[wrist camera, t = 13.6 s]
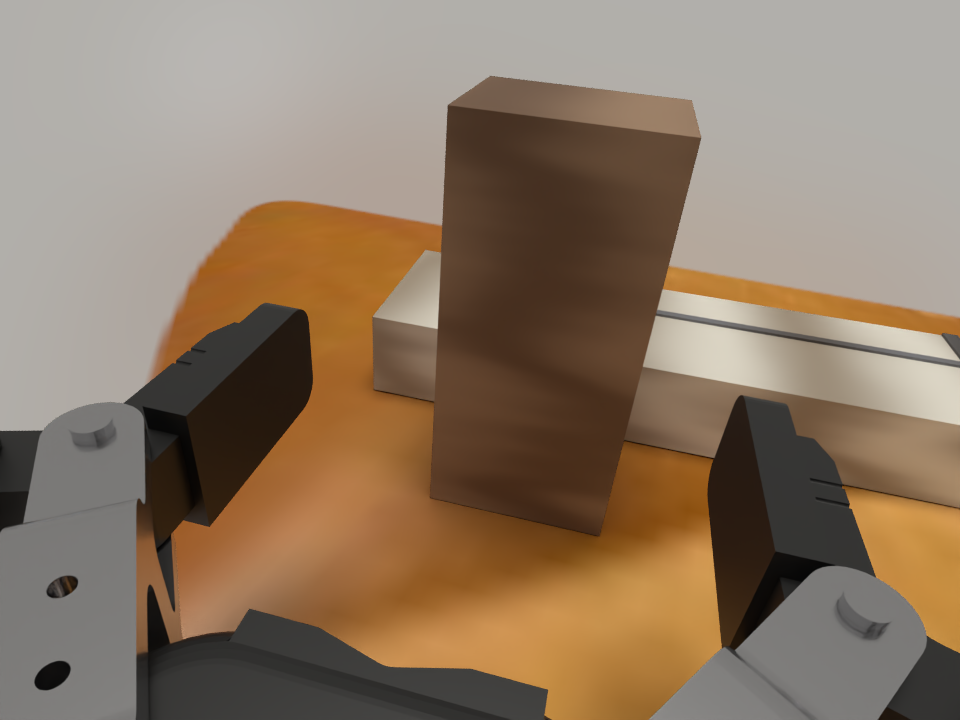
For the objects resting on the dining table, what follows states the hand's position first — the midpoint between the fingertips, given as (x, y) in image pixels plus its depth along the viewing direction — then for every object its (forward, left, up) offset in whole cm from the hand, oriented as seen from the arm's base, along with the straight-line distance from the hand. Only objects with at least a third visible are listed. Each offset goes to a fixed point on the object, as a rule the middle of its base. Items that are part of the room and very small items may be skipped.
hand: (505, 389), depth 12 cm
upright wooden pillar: (+6, -6, -7) cm, 10 cm away
